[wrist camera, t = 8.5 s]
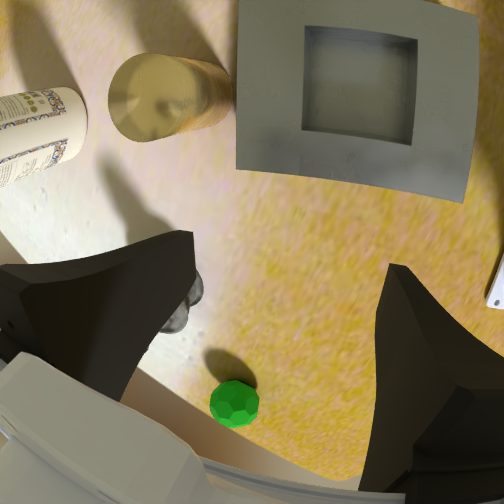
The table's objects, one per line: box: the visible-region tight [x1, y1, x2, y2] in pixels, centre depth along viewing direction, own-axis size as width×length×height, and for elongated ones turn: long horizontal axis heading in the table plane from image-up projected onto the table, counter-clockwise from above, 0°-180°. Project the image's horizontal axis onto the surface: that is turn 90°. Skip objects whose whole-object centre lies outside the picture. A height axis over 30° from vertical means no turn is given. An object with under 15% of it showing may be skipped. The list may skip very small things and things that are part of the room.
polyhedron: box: [210, 380, 259, 428], centre depth 29 cm, size 5×5×5 cm
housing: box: [236, 0, 479, 204], centre depth 14 cm, size 12×10×4 cm
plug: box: [108, 53, 234, 142], centre depth 16 cm, size 5×5×6 cm
